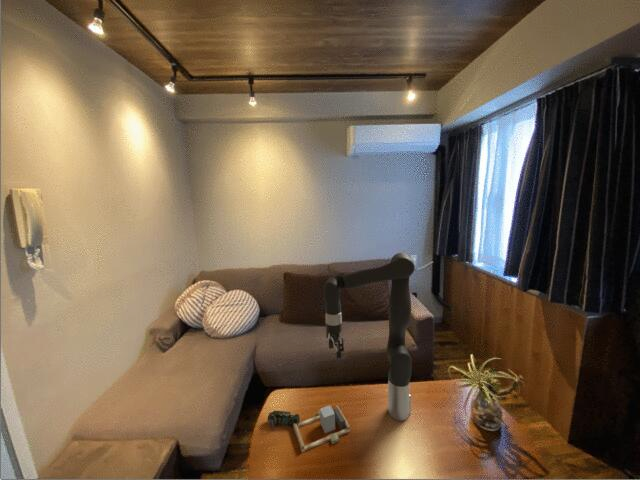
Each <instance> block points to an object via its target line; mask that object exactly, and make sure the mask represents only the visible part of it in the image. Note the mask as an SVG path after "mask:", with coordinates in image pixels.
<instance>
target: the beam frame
mask: <svg viewBox="0 0 640 480" xmlns="http://www.w3.org/2000/svg"><path fill="white" fill-rule="evenodd" d="M332 410H333V411H334V413H335V422H336V423H337V425H338V426H339V429H340V430H339V431H337V432H333V433H331V434H329V435H327V436H325V437H323V438H320V439H317V440H315V441H313V442H310V443H309V444H306V445H305V443H304V441H303V437H302V434H301V432H300V429H299V428H302V427H304V426H306V425H309V424H311V423H314V422H316V421H318V420H319V421H320V409H319V410H317V415H316V416H313V417H310V418H308V419H306V420H304V421H299V423H298V426H297V424H294V423H293V425H292V426H293V427H292V428H293V430H294V433H295V435H296V439H297V441H298V445H299V447H300V451H301V453H304V452H306V451H309V450H311V449H313V448H315V447H317V446H320V445H323V444H325V443H327V442H329V441H330V442H331V445H333V444H336V443H338V442H340V440H339V439H340V438H339V437H341V436H343V435H345V434H347V433H350V432H351V425H350V424H349V422H348V421H347V418H345V415H344V413H343V412H342V410H341V408H340V407H339V405H335V407H332Z"/></svg>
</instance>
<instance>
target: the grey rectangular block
mask: <svg viewBox="0 0 640 480" xmlns="http://www.w3.org/2000/svg"><path fill="white" fill-rule="evenodd" d="M319 410H320V419H319V421H320V426H321V428H322V430H323V433H324V434H328V433H330V432H332V431H335V430H336V419H335V413H334V411H333V407H332V406H331V404H329V405H327V406H324V407H321V408H320V409H319Z"/></svg>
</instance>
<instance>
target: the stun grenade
mask: <svg viewBox="0 0 640 480" xmlns="http://www.w3.org/2000/svg"><path fill="white" fill-rule="evenodd" d="M300 417H301V416H300V414H297V413H296V414H291V411H287V410H286V411H285V410H273V411H271V412H269V414H268V415H267V423H268V424H269V426H270V428H271V429H272V430H275V426H277V425H286V426H288V425H289V426H293V423H294V424H297V426H298V423H300Z"/></svg>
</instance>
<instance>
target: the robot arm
mask: <svg viewBox="0 0 640 480" xmlns="http://www.w3.org/2000/svg"><path fill="white" fill-rule="evenodd" d="M415 267H416V266H415V264H414V261H413V259H412V258H411V257H410V256H409V255H408V254H406V253H405V252H397V253H396V254H394V255H393V256H392V257H391V259H390V262H389V263H387V264H385V265H381V266H378V267H374V268H373V267H372V268H364V269H359V270H355V271H353V272H349V273H346V274H339V275H334V276H332V277H329V278H327V280H326V281H325V283H324V285H323V298H324V302H325V304H324V305H325V318H324V319H325V333H326V334H325V337H326V339H327V341H328V348H329V349H330V350H331V349H333V348H334V347H335V350H336V351H335V352H336V353H335V354H336V358H337V359H338V360H339V359H342V357H343V356H342V353H343V352H344V351H345V350H344V349H345V347H344V346H345V344H344V338H341V332H342V331H343V321H342V320H343V315H342V304H341V299H340V290H345V289H347V290H351V291H352V290H354V289H357V288H361V287H365V286H368V285H372V284H376V283H381V282H386V281H391V285H390V294H389V300H388V301H389V302H388V303H389V304H388V305H389V306H388V340H387V345H386V355H387V359H388V361H389V365H390V368H389V371H388V373H387V379H388V381H387V382H388V383H387V385H388V386H387V387H388V390H387V392H388V394H387V395H388V396H387V403H388V407H387V410H388V415H389V417H391V418H392V419H394V420H396V421H401V422H403V421H406V420H407V419H409V417H410V415H411V414H412V396H411V394H410V380H411V378H412V371H413V370H412V367H413V364H412V363H413V362H412V357H411V355H410V353H409V351H408V350H407V346H406V332H407V329H408V327H409V326H410V323H411V317H412V301H411V299H412V298H411V294H410V292H411V291H410V277H411V276H412V275H413V274H414V272H415Z"/></svg>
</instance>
